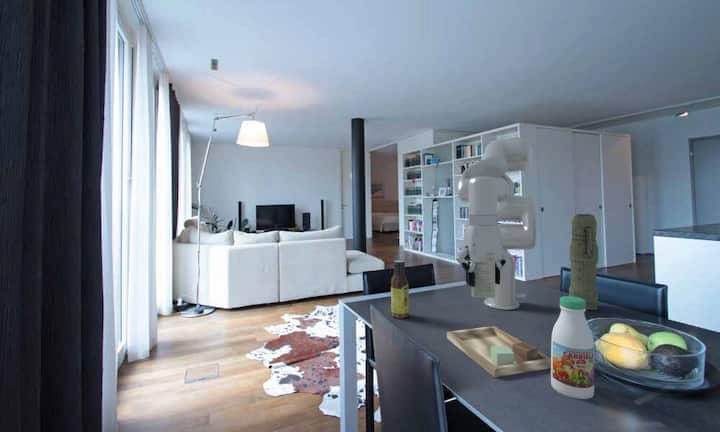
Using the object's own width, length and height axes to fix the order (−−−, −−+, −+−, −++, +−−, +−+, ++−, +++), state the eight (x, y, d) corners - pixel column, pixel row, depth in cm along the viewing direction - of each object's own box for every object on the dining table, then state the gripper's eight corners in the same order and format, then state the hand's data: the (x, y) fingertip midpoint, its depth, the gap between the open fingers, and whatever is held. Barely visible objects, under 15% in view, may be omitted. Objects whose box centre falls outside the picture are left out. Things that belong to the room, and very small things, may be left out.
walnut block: (523, 356, 83) (523, 341, 83) (537, 363, 79) (537, 348, 79) (512, 360, 81) (512, 344, 81) (526, 367, 78) (526, 351, 77)
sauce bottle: (408, 319, 112) (407, 263, 111) (390, 318, 113) (389, 262, 113) (409, 313, 119) (408, 259, 118) (392, 312, 120) (391, 259, 119)
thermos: (587, 302, 127) (588, 213, 125) (605, 312, 115) (606, 214, 113) (562, 301, 128) (563, 213, 126) (578, 312, 116) (579, 215, 115)
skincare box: (494, 294, 92) (494, 252, 91) (495, 299, 87) (495, 254, 87) (470, 292, 94) (471, 251, 93) (470, 297, 89) (471, 253, 89)
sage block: (506, 361, 81) (506, 345, 80) (514, 369, 77) (514, 353, 76) (490, 361, 81) (490, 346, 81) (497, 370, 77) (497, 353, 77)
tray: (494, 333, 99) (494, 325, 99) (553, 369, 77) (553, 359, 77) (447, 340, 95) (446, 331, 95) (494, 379, 74) (494, 369, 74)
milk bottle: (543, 382, 72) (543, 294, 72) (575, 379, 73) (576, 292, 72) (568, 403, 65) (568, 305, 64) (603, 400, 65) (605, 303, 65)
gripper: (501, 219, 95) (501, 279, 96) (447, 221, 91) (448, 283, 92) (519, 221, 88) (519, 285, 89) (462, 223, 84) (462, 290, 85)
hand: (483, 283), depth 90 cm, fingers closed on skincare box, 7 cm apart
